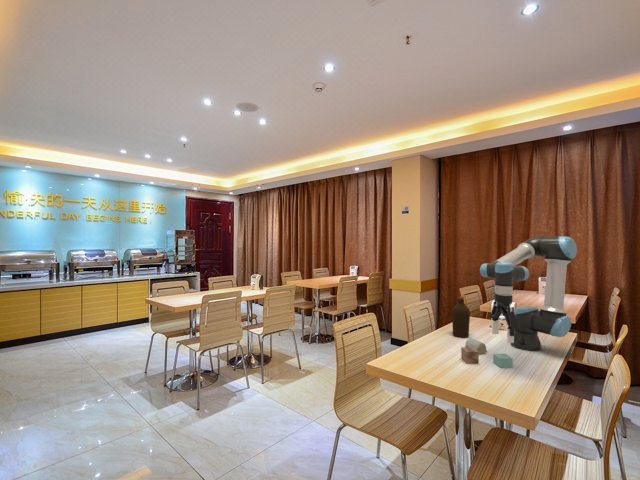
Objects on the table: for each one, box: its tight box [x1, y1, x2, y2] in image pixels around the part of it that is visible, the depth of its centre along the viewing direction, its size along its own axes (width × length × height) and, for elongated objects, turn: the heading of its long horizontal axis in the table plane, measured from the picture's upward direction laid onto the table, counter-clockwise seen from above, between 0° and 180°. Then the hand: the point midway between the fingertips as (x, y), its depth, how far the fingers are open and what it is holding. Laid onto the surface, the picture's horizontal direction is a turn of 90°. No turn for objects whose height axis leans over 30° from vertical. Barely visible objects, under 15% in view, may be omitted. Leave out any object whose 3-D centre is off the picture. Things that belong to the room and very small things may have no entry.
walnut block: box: [460, 346, 480, 365], centre depth 158 cm, size 6×6×6 cm
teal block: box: [492, 353, 513, 369], centre depth 154 cm, size 6×6×6 cm
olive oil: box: [451, 296, 471, 339], centre depth 204 cm, size 11×11×25 cm
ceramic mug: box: [464, 337, 488, 355], centre depth 173 cm, size 11×8×8 cm
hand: (502, 338), depth 154 cm, fingers open, 13 cm apart
